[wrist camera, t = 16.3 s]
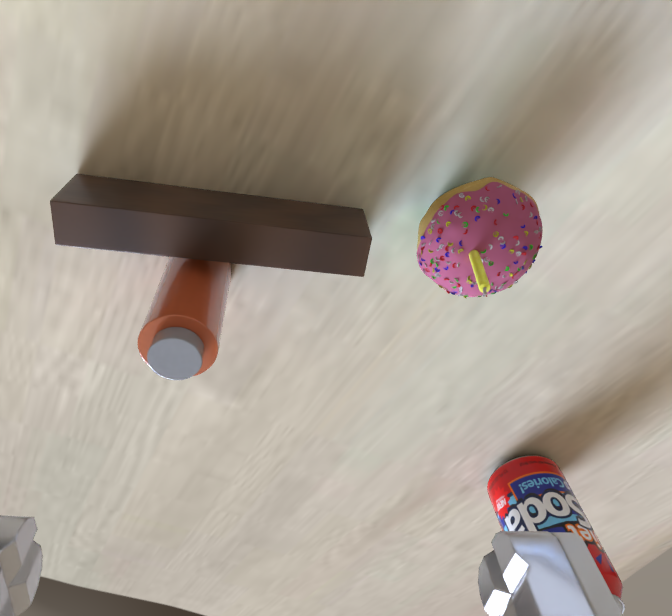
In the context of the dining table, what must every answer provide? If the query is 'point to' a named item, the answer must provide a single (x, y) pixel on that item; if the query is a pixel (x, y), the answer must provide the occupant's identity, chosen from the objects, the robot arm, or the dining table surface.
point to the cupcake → (479, 237)
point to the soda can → (546, 508)
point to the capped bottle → (185, 318)
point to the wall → (210, 225)
